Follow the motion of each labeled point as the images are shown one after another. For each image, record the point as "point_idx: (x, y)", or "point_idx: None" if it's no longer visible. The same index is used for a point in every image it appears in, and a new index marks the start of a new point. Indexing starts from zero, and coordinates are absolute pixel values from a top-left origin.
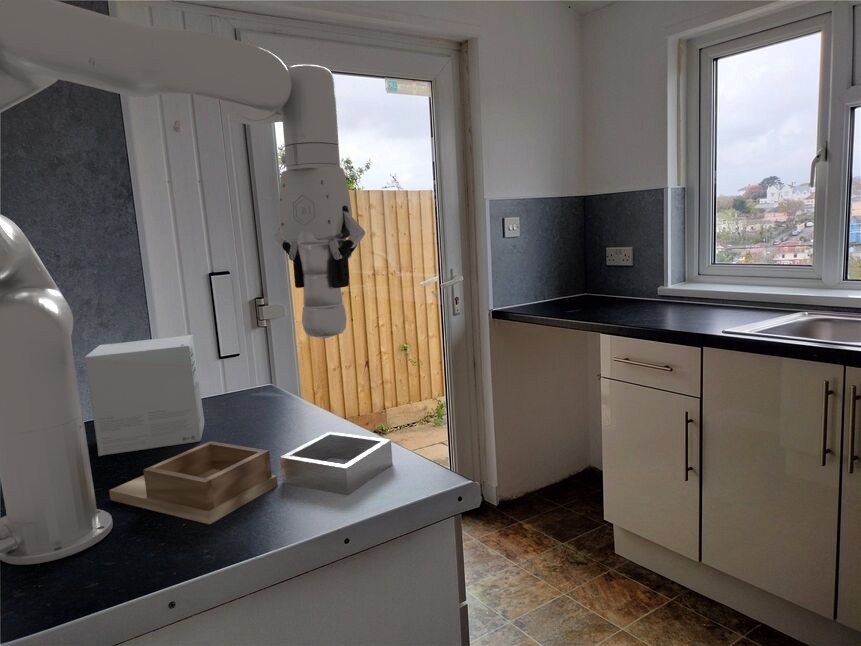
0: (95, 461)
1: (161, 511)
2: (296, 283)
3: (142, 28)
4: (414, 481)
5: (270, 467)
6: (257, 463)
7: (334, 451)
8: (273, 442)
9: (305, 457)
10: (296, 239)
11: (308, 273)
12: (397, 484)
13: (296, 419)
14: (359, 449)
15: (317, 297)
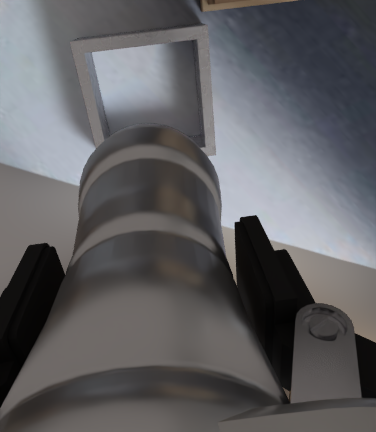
0: None
1: None
2: (249, 222)
3: None
4: (35, 124)
5: (210, 3)
6: None
7: (196, 138)
8: (326, 139)
9: (198, 78)
10: (248, 415)
11: (140, 237)
12: (47, 104)
13: (352, 220)
14: None
15: (107, 186)
